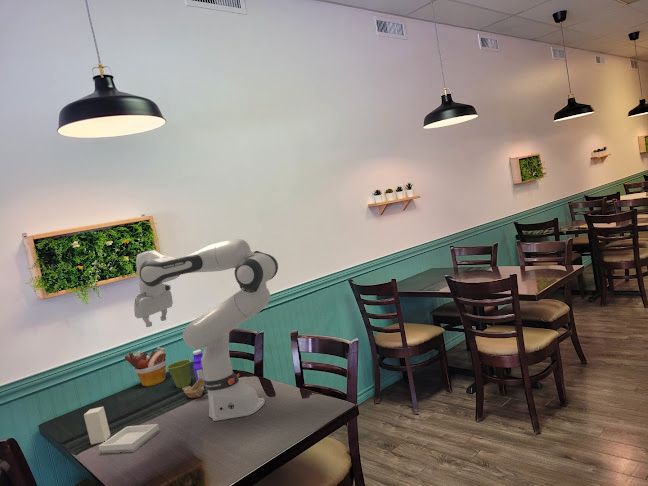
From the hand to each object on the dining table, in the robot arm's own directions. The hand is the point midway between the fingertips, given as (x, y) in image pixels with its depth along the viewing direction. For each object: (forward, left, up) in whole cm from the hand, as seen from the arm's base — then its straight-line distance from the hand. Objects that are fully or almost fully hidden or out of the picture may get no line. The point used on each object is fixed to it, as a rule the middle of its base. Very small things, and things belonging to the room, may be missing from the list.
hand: (156, 323), depth 199 cm
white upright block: (+24, +18, -39) cm, 49 cm away
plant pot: (+22, -36, -39) cm, 58 cm away
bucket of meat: (+47, -45, -39) cm, 76 cm away
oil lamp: (+5, -20, -39) cm, 44 cm away
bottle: (+7, -32, -39) cm, 51 cm away
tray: (+6, +22, -39) cm, 45 cm away
